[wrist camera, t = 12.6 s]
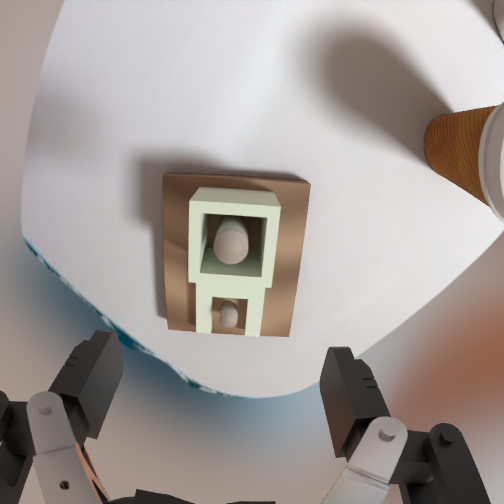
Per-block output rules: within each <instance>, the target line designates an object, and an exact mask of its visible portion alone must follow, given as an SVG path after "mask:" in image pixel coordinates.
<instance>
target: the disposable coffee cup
mask: <svg viewBox="0 0 504 504" xmlns="http://www.w3.org/2000/svg"><path fill="white" fill-rule="evenodd" d="M424 150H425V155H426V159H427V161H428V163H429V165H430V166H431V168H432V169H433V170H434V171H435V172H436V173H437V174H439V175H441V176H443V177H444V178H446V179H448V180H449V181H451V182H452V183H454V184H456V185H457V186H459V187H460V188H462V189H463V190H465V191H467V192H468V193H469V194H471V195H473V196H474V197H476V198H477V199H479V200H480V201H481V202H483V203H484V204H486V205H487V206H489V207H490V208H491V209H492V211H493V212H494V214H495V215H496V216H497V217H498V218H499V219H500V221H502V222H503V223H504V102H503V103H502V104H500V105H498V106H491V107H486V108H485V107H484V108H479V109H472V110H467V111H462V112H456V113H451V114H446V115H441V116H438V117H436V118H435V119H434V120H433V121H432V122H431V123H430V124H429V126H428V127H427V130H426V133H425V138H424Z"/></svg>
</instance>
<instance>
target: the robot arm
mask: <svg viewBox="0 0 504 504" xmlns="http://www.w3.org/2000/svg"><path fill="white" fill-rule="evenodd" d="M493 12H494V18H495V22H496V25H497V28H498V31H499V33H500V35H501V37H502V39H503V41H504V0H495V2H494V8H493ZM122 374H123V359H122V354H121V350H120V345H119V340H118V335H117V333H116V332H113V331H105V330H99V329H98V330H96V331H95V333H94V335H93V336H92V338H91V340H90V341H87V340H84V341H83V342H81V343H80V344H79V345H78V346H76V347H75V348H74V350H73V351H72V353H71V354H70V356H69V358H68V359H67V361H66V362H65V365H64V366H63V367H62V369H61V370H60V372H59V374H58V375H57V377H56V378H55V380H54V382H53V383H52V385H51V387H50V388H49V390H48V391H47V392H46V391H45V392H40V393H37V394H35V395H34V396H33V397H31V399H30V400H29V401H28V402H14V401H9V399H8V397H7V396H6V394H5V393H4V392H2V391H0V442H1V446H0V504H18V503H19V500H20V497H21V494H22V491H23V488H24V485H25V482H26V479H27V476H28V474H29V471H30V468H31V466H32V463H34V467H35V470H36V474H37V477H38V480H39V483H40V487H41V490H42V493H43V496H44V499H45V502H46V504H194V503H191V502H188V501H184V500H182V499H179V498H176V497H174V496H170V495H167V494H160V493H154V492H148V491H144V490H139V489H137V490H136V494H135V497H123V498H119V499H115V500H111V499H110V497H109V495H108V493H107V492H106V490H105V488H104V487H103V485H102V483H101V481H100V479H99V477H98V475H97V472H96V470H95V468H94V466H93V463H92V461H91V459H90V456H89V454H88V452H87V449H86V447H85V445H84V442H85V440H86V437H90V438H94V439H97V438H98V435H99V432H100V430H101V427H102V425H103V422H104V419H105V417H106V414H107V411H108V409H109V407H110V404H111V402H112V399H113V397H114V394H115V392H116V389H117V387H118V384H119V382H120V380H121V377H122ZM320 392H321V396H322V400H323V404H324V409H325V413H326V417H327V421H328V425H329V430H330V434H331V439H332V443H333V447H334V451H335V456H336V458H339V457H346V460H347V465H346V466H345V468H344V470H343V471H342V473H341V474H340V476H339V478H338V479H337V481H336V482H335V484H334V485H333V487H332V488H331V490H330V491H329V493H328V494H327V496H326V497H325V498H324V500H323V501H322V503H321V504H382V503H383V501H384V499H385V497H386V495H387V493H388V490H389V487H390V485H388V484H399V488H400V492H401V496H402V500H403V504H491V503H490V500H489V497H488V495H487V493H486V489H485V487H484V484H483V482H482V479H481V477H480V474H479V472H478V469H477V467H476V465H475V462H474V460H473V458H472V455H471V453H470V451H469V448H468V446H467V444H466V442H465V440H464V437H463V435H462V433H461V432H460V431H459V429H458V428H456V427H455V426H453V425H451V424H447V423H440V424H437V425H435V426H434V427H433V428H432V429H431V430H430V432H419V431H411V430H407V429H406V427H405V426H404V425H403V423H401V422H400V421H399V420H397V419H395V418H392V417H391V416H390V413H389V411H388V409H387V406H386V404H385V402H384V399H383V397H382V394H381V392H380V390H379V388H378V385H377V383H376V380H374V376H373V373H372V371H371V369H370V367H369V366H368V365H367V364H365V362H364V361H362V360H361V359H358V360H355V359H354V356H353V354H352V351H351V349H350V348H349V347H329V349H328V351H327V354H326V358H325V362H324V365H323V369H322V372H321V376H320ZM228 504H275V501H272V502H271V501H270V502H250V501H248V502H247V501H246V502H245V501H240V502H234V503H228Z"/></svg>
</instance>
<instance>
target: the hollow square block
mask: <svg viewBox="0 0 504 504" xmlns="http://www.w3.org/2000/svg"><path fill="white" fill-rule="evenodd" d="M280 210H281V206H280V204H279V201H278V199H277V197H276V195H275V192H270V191H257V190H244V189H229V188H213V187H199V189H198V190H197V191H196V193H195V194H194V195H193V197H192V198H191V199H190V201H189V256H188V277H189V282H192V283H196V333H207V334H211V330H212V301H213V297H223V298H238V299H248V300H247V311H246V323H245V336H252V337H260V330H261V321H262V313H263V304H264V295H265V288H271V287H272V279H273V271H274V262H275V254H276V245H277V237H278V228H279V219H280ZM208 214H224V215H239V216H253V217H262V223H261V233H260V244H259V251H251V250H248V253H247V256H246V257H245V258H244V259H243V260H242V261H241V262H239V263H236V264H226V263H223V262H221V261H220V260H219V259H218V258H217V257H216V256H215V253H214V250H213V248H207V240H208Z"/></svg>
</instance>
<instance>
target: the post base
mask: <svg viewBox="0 0 504 504" xmlns="http://www.w3.org/2000/svg"><path fill="white" fill-rule="evenodd" d="M310 186H311V184H310V183H309V182H307V181H299V180H288V179H276V178H263V177H249V176H234V175H215V174H192V173H166V174H164V175H163V250H164V275H165V293H166V309H167V322H168V329H170V330H180V331H192V332H196V283H192V282H189V277H188V256H189V201H190V199H191V198H192V197H193V195H194V194H195V193H196V191H197V190H198V189H199V187H213V188H229V189H244V190H257V191H270V192H275V195H276V197H277V199H278V201H279V204H280V206H281V210H280V219H279V228H278V237H277V245H276V254H275V262H274V271H273V279H272V287H271V288H265V295H264V304H263V313H262V321H261V330H260V336H279V337H289V333H290V327H291V321H292V315H293V309H294V302H295V296H296V290H297V283H298V276H299V270H300V263H301V256H302V249H303V241H304V234H305V226H306V219H307V211H308V203H309V194H310ZM261 223H262V217H253V216H239V215H224V214H208V240H207V248H213V250H214V253H215V256H216V257H217V258H218V259H219V260H220V261H221V262H223V263H226V264H236V263H239V262H241V261H242V260H243V259H244V258H245V257H246V256H247V253H248V250H251V251H259V244H260V233H261ZM247 300H248V299H238V298H223V297H213V301H212V330H211V333H218V334H234V335H245V323H246V311H247Z"/></svg>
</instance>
